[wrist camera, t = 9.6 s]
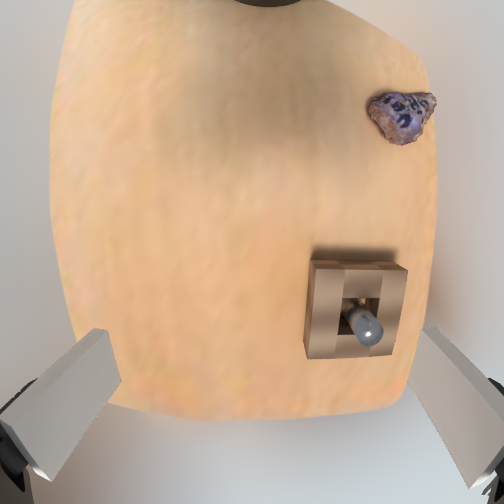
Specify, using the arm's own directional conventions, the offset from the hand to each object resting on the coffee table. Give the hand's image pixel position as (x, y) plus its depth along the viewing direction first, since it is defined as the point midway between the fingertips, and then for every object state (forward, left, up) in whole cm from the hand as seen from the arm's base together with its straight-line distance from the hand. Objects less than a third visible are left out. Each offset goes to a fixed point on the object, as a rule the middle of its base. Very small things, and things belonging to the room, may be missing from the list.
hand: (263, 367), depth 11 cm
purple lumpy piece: (-19, +19, -28) cm, 38 cm away
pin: (+8, +12, -27) cm, 31 cm away
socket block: (+8, +12, -27) cm, 31 cm away
